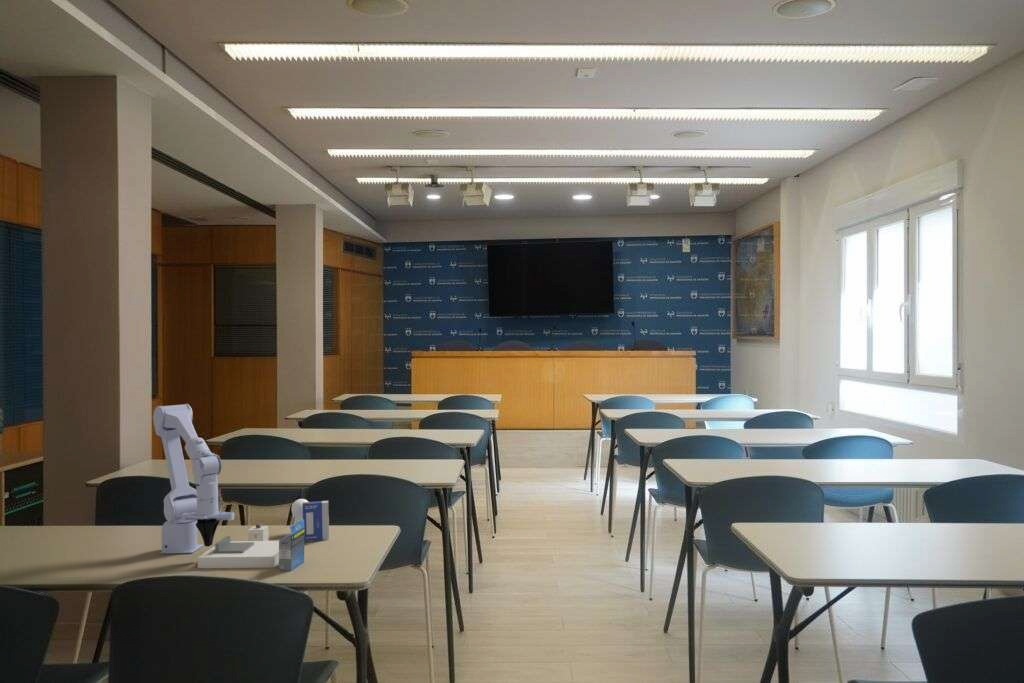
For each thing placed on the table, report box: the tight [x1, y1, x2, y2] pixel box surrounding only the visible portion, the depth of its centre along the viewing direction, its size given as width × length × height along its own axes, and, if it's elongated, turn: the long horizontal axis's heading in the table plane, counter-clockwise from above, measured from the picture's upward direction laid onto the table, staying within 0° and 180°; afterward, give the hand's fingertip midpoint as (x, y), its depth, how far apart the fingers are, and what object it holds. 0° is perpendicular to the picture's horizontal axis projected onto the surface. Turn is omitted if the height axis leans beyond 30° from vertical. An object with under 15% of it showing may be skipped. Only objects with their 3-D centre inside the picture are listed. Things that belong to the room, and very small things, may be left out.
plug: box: [247, 523, 269, 541], centre depth 227 cm, size 4×5×6 cm
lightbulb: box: [290, 498, 309, 529], centre depth 241 cm, size 6×6×11 cm
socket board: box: [197, 540, 279, 569], centre depth 213 cm, size 21×16×3 cm
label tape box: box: [278, 519, 305, 572], centre depth 205 cm, size 9×4×12 cm, turn 172°
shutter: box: [213, 535, 254, 553], centre depth 213 cm, size 8×8×3 cm
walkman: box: [303, 500, 330, 542], centre depth 232 cm, size 8×3×12 cm, turn 103°
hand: (208, 545), depth 213 cm, fingers closed
